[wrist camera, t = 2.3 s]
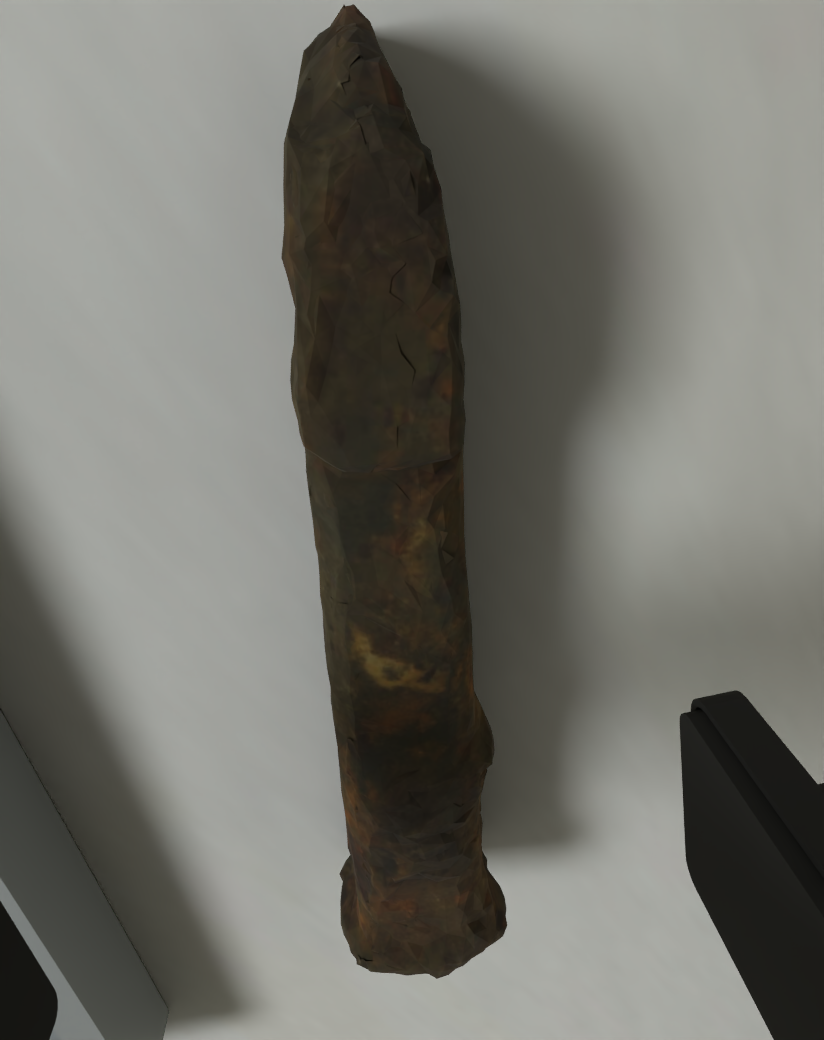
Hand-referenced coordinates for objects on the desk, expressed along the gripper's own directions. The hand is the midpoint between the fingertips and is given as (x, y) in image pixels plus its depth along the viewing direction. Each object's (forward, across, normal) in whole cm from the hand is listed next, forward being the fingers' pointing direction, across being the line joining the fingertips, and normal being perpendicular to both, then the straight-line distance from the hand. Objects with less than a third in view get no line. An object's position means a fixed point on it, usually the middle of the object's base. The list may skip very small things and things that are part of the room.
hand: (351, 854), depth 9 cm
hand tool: (+8, -1, -1) cm, 8 cm away
